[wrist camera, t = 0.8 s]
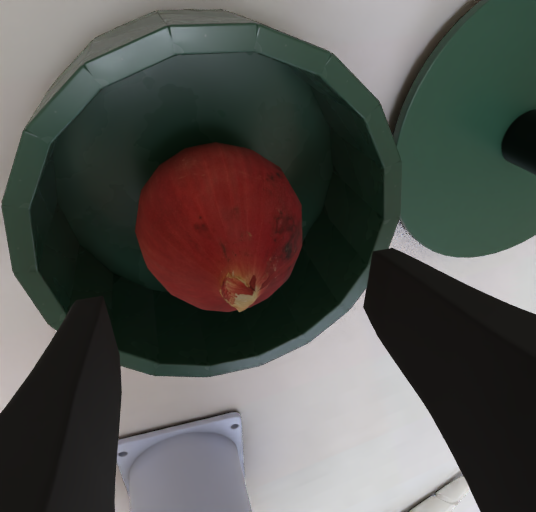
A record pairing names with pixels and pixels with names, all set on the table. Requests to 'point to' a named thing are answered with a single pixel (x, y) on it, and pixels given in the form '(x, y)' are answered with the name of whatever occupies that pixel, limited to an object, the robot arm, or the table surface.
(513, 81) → the lid
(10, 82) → the table surface
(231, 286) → the onion
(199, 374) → the pot
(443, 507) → the unicorn horn
